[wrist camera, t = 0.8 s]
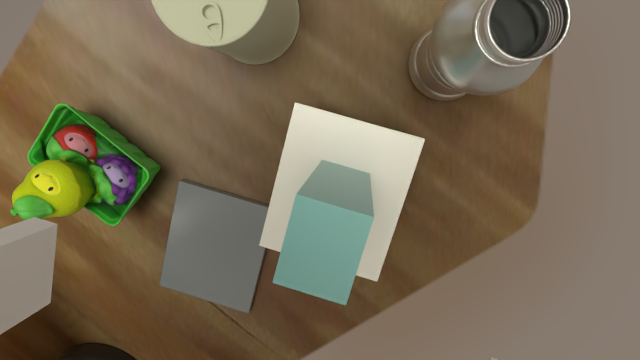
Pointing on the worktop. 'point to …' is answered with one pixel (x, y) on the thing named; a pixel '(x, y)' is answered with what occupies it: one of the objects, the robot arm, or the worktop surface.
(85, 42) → the worktop surface
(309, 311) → the worktop surface
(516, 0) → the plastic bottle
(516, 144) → the worktop surface
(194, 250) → the plate
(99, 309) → the worktop surface
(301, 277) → the lid
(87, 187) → the fruit basket
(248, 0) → the can
